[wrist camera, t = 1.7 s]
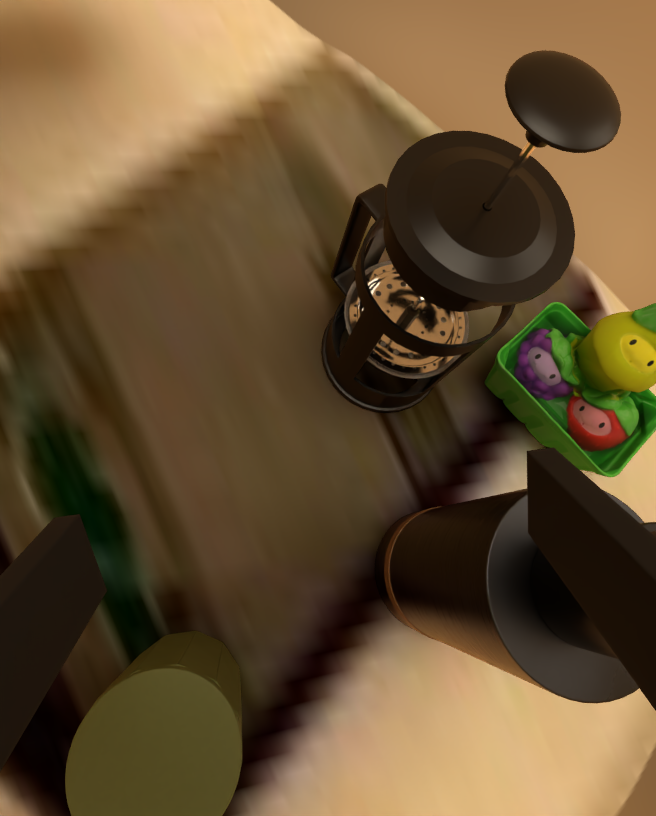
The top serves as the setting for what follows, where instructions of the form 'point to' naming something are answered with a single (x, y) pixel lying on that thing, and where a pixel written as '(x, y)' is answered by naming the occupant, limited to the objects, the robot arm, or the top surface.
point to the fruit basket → (582, 384)
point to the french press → (461, 234)
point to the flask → (497, 596)
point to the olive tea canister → (162, 735)
